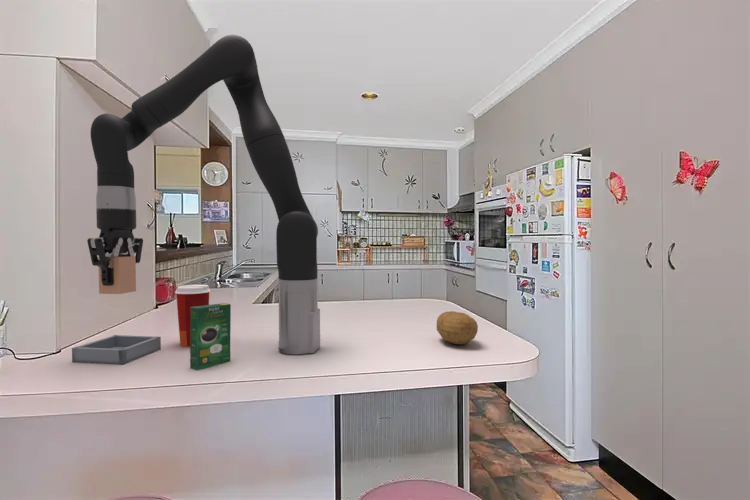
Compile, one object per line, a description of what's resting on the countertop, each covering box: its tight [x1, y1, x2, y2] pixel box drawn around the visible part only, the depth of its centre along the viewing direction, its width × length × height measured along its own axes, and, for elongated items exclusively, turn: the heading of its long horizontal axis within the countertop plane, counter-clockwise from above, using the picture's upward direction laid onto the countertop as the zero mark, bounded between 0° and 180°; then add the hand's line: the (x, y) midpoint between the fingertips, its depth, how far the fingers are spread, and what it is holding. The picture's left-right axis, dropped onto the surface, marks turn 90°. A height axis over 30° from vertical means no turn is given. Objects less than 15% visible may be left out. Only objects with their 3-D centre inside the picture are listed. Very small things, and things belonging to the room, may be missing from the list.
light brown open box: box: [97, 255, 137, 295], centre depth 92 cm, size 5×5×8 cm
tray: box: [71, 334, 162, 366], centre depth 93 cm, size 12×12×4 cm
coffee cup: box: [174, 284, 212, 348], centre depth 103 cm, size 8×8×15 cm
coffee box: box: [189, 302, 232, 371], centre depth 86 cm, size 8×3×13 cm, turn 144°
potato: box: [436, 310, 479, 345], centre depth 106 cm, size 10×14×8 cm
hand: (118, 283), depth 92 cm, fingers closed on light brown open box, 5 cm apart
